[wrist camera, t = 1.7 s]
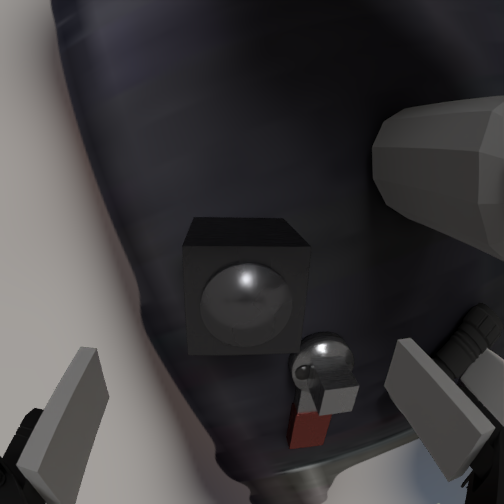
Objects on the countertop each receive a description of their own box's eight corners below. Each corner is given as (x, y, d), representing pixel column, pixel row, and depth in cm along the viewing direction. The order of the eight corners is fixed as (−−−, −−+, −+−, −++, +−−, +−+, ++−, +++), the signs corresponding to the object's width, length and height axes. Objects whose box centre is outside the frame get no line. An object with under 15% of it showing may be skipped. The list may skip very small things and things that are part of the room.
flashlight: (473, 292, 30) (502, 311, 25) (485, 316, 32) (511, 335, 26) (382, 386, 32) (402, 416, 27) (401, 402, 34) (420, 429, 29)
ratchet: (291, 333, 28) (309, 377, 22) (351, 329, 29) (379, 369, 23) (278, 437, 33) (287, 480, 27) (326, 432, 33) (341, 471, 27)
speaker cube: (193, 217, 24) (181, 248, 16) (283, 218, 25) (313, 248, 17) (195, 299, 26) (187, 358, 18) (278, 299, 27) (300, 356, 19)
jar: (350, 120, 23) (538, 97, 6) (437, 101, 23) (603, 92, 6) (379, 231, 26) (540, 330, 9) (458, 199, 26) (609, 254, 9)
